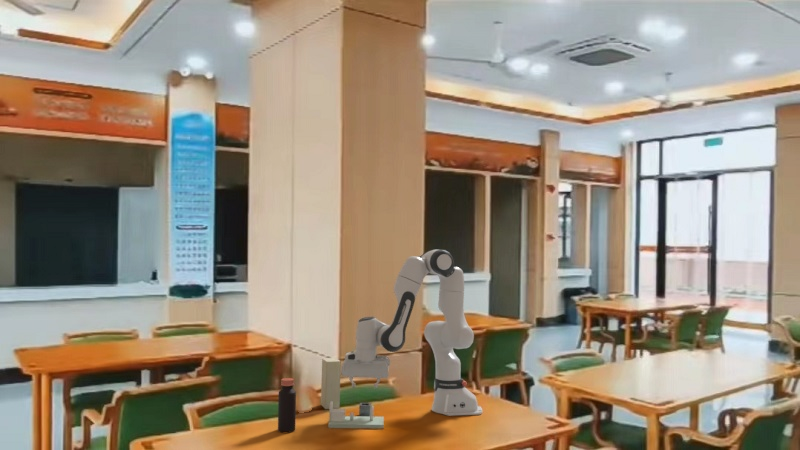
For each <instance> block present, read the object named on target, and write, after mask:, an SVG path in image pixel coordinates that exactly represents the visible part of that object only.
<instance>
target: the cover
mask: <svg viewBox="0 0 800 450" xmlns="http://www.w3.org/2000/svg"><path fill="white" fill-rule="evenodd" d="M328 410H329V412H328V413H329V416H328V417H329V419H328V422H329V421H335V422H344V419H345V416H346V408H334V409H333V401H331V402H330V408H329V409H328Z"/></svg>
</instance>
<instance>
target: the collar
mask: <svg viewBox="0 0 800 450" xmlns="http://www.w3.org/2000/svg"><path fill="white" fill-rule="evenodd" d="M370 405H372V402H359V407H358V409H359V411H358V412H359V414H358V416H370Z"/></svg>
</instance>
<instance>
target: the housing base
mask: <svg viewBox="0 0 800 450" xmlns="http://www.w3.org/2000/svg"><path fill="white" fill-rule="evenodd" d="M354 414H355V413H354V412H353V411H351V412H349V415H345V419H344V422H335V421H329V420H328V427H327V428H328V429H374V430H375V429H380V430H381V429H384V423H385V416H374V405H370V416H359V415H358V416H357V415H356V416H355V415H354Z"/></svg>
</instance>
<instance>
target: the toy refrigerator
mask: <svg viewBox="0 0 800 450" xmlns="http://www.w3.org/2000/svg"><path fill="white" fill-rule="evenodd" d="M341 363H342V362H341V360H339V358H337V357H330V358H329V357H327V358H325V357H324V358H322V361H321V387H320V388H321V389H320V390H321V391H320V392H321V393H320V395H321V396H320V406H322V407H323V409H325V410H329V408H330V402H331V401H333V409H340V406H341V404H340V402H341V401H340V400H341V398H340V397H341V370H342V366H341Z"/></svg>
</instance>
